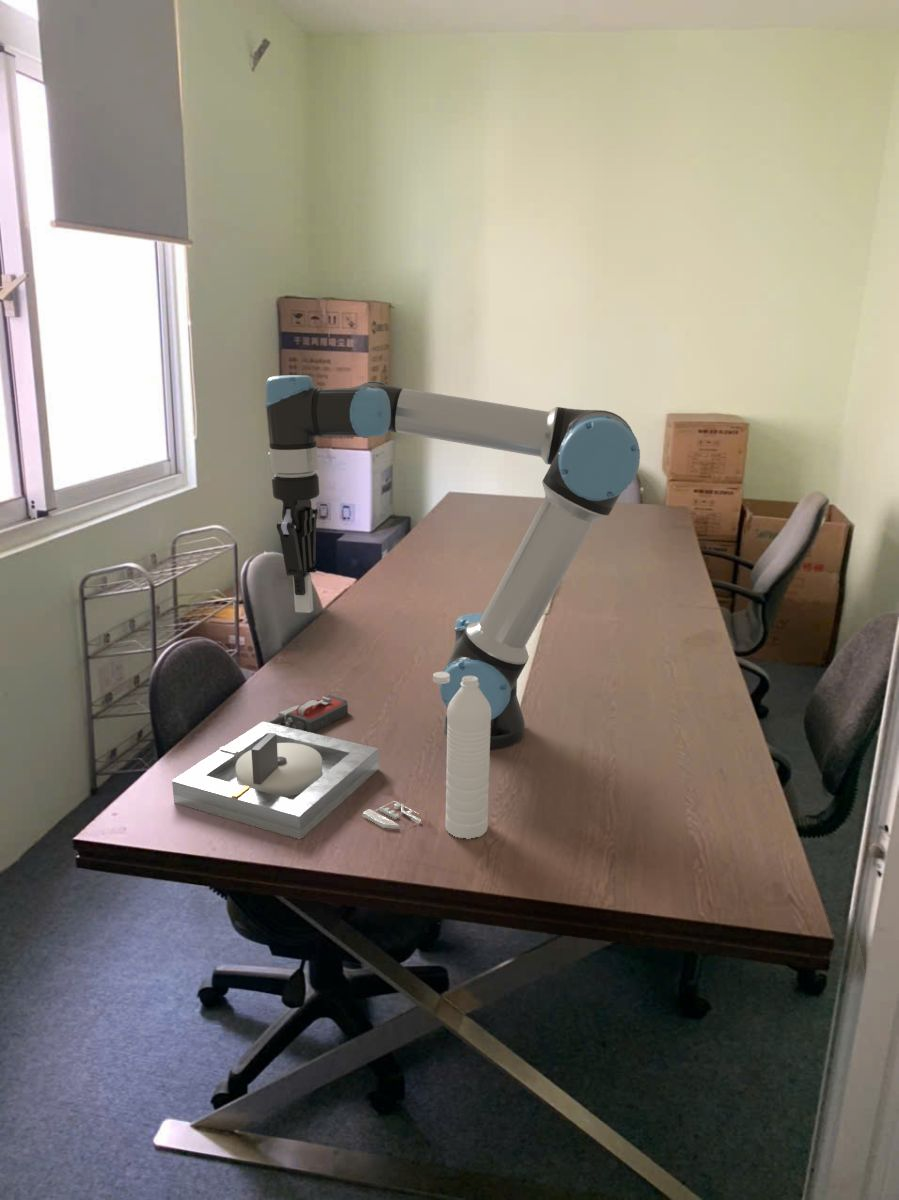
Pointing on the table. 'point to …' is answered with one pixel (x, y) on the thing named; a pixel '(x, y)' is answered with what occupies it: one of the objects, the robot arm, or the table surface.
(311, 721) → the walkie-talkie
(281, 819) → the silver rectangular frame
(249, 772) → the dial
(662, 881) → the table surface
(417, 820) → the model kit parts
